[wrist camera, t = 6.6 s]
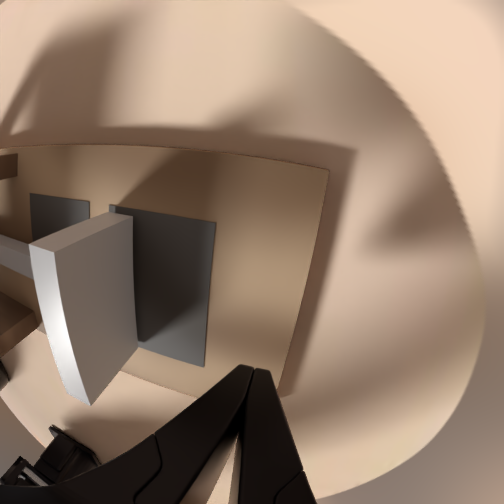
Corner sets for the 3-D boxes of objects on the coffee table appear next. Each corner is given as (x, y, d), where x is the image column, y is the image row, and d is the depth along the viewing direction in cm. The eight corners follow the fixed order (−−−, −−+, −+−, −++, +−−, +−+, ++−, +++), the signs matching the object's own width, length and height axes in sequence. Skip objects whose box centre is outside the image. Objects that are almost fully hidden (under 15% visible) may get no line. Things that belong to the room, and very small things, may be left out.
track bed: (272, 400, 13) (268, 416, 12) (-22, 280, 16) (-30, 285, 15) (327, 169, 9) (329, 171, 8) (-35, 152, 13) (-45, 154, 12)
